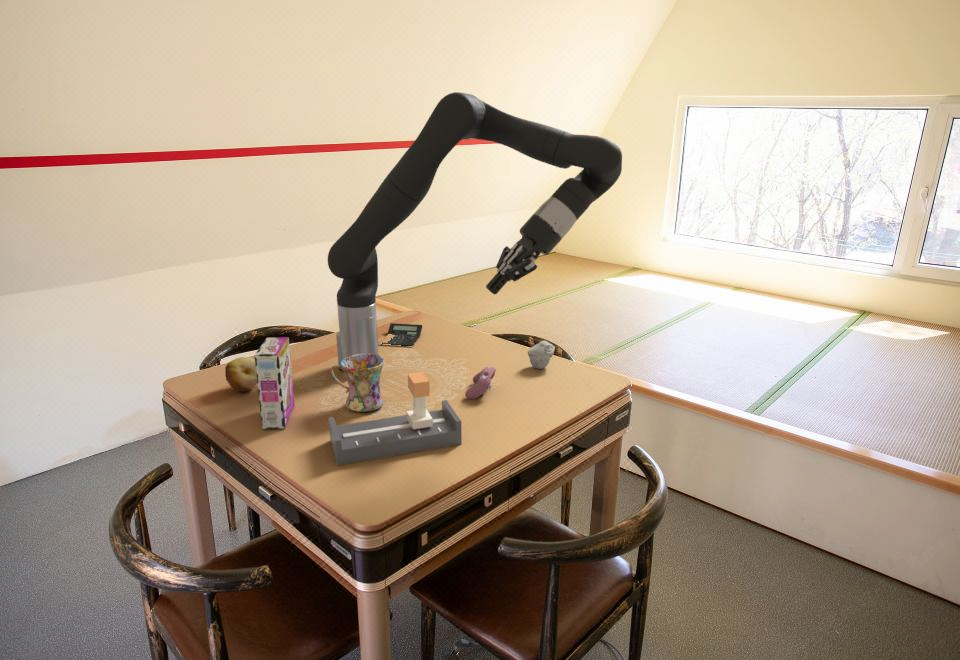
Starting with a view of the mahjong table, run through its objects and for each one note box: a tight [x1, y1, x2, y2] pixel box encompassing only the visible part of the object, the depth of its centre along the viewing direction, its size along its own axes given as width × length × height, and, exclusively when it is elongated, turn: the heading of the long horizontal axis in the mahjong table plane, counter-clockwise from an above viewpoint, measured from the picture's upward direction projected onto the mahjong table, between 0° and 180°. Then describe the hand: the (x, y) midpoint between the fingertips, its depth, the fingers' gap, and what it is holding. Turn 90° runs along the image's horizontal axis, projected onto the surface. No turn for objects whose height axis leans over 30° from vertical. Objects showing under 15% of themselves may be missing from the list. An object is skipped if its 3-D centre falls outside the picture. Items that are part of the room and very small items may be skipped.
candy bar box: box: [254, 336, 296, 430], centre depth 136 cm, size 11×5×16 cm, turn 5°
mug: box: [330, 354, 386, 413], centre depth 143 cm, size 12×9×11 cm
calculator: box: [382, 322, 423, 347], centre depth 185 cm, size 9×12×3 cm
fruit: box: [224, 356, 258, 392], centre depth 151 cm, size 8×8×8 cm
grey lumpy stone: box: [527, 340, 556, 370], centre depth 164 cm, size 6×7×7 cm
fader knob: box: [406, 371, 433, 429], centre depth 128 cm, size 4×5×10 cm
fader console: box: [328, 399, 463, 466], centre depth 128 cm, size 24×10×5 cm, turn 109°
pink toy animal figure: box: [464, 365, 497, 400], centre depth 151 cm, size 10×5×7 cm, turn 169°
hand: (490, 291), depth 130 cm, fingers closed
